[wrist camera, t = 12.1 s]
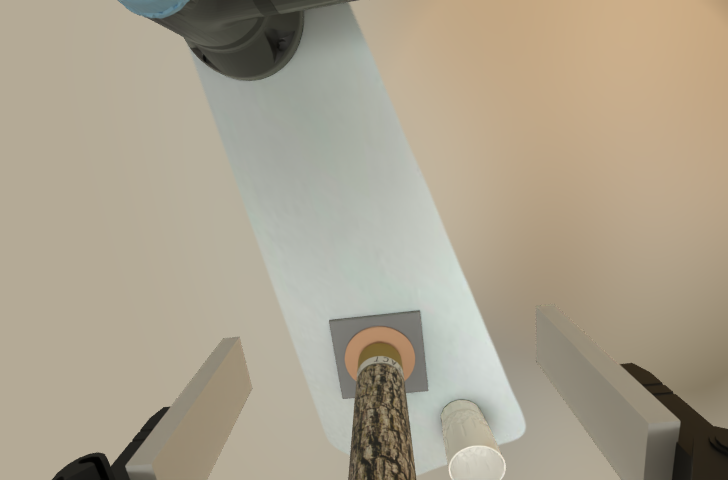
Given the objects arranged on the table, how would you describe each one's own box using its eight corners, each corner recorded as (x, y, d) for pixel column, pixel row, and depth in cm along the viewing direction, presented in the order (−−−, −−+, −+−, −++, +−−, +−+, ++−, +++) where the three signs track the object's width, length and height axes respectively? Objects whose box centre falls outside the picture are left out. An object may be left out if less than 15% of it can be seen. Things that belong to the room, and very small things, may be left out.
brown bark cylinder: (382, 386, 57) (386, 562, 33) (349, 361, 56) (329, 524, 32) (410, 358, 56) (437, 521, 32) (377, 332, 55) (379, 480, 31)
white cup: (476, 390, 58) (496, 439, 49) (491, 427, 60) (512, 482, 51) (430, 404, 60) (441, 455, 50) (446, 441, 61) (459, 497, 52)
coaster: (329, 320, 56) (328, 323, 55) (419, 310, 55) (420, 314, 54) (342, 396, 60) (342, 401, 58) (427, 388, 59) (428, 393, 58)
